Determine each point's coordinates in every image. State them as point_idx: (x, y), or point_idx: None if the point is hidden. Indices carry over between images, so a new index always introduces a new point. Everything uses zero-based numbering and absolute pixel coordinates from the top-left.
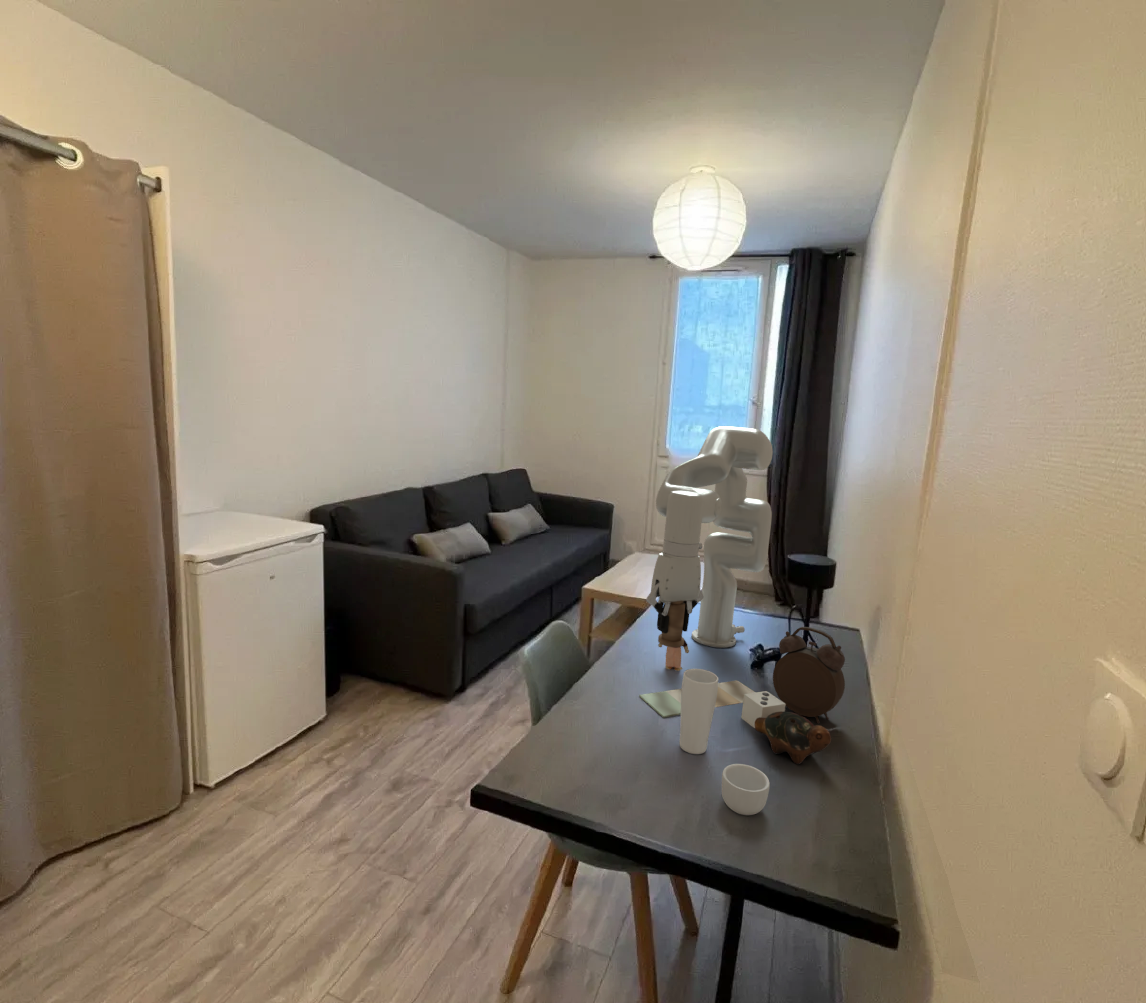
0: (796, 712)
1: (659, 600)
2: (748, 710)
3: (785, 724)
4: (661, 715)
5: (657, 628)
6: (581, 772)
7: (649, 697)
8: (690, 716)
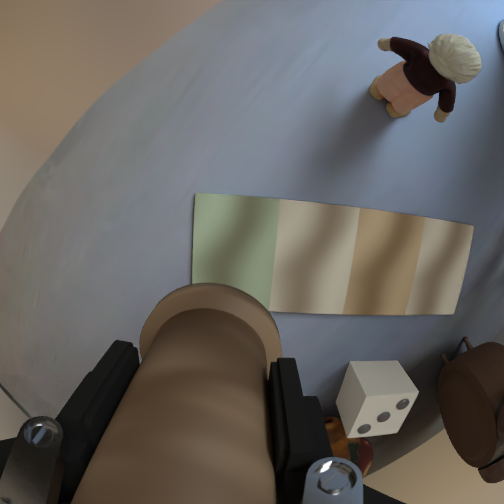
0: (439, 380)
1: (4, 497)
2: (352, 393)
3: None
4: None
5: (117, 341)
6: (21, 359)
7: (213, 215)
8: None
